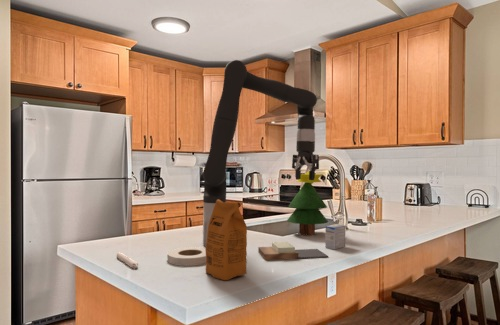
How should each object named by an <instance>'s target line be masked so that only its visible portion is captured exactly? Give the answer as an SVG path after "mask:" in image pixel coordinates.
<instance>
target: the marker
mask: <svg viewBox="0 0 500 325" xmlns="http://www.w3.org/2000/svg"><path fill="white" fill-rule="evenodd" d="M116 258H117V259H118V260H120V261H122V262H123V263H124V264H126V265H127V266H129V267H130V268H132V269H134V270H135V269H139V263H138V262H137V261H136V260H134V259H132V258H130V257H129V256H127V255H126V254H124V253H122V252H118V253H116Z"/></svg>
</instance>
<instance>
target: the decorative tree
mask: <svg viewBox="0 0 500 325" xmlns="http://www.w3.org/2000/svg"><path fill="white" fill-rule="evenodd" d="M309 171H310V170H308V171H307V172H306V173H301V179H297V180H296V182H297V183H304V184H303V185H302V186H301V187H300V189H299V191H298V192H297V193H296V195H295V196H294V198H293V199H292V200H291V202H290V203H289V204H288V208H292V209H295V210H294V211H292V213H291V214H290V215H289V217H288V218H287V220H286V222H288V223H290V224H291V223H293V224H298V225H299V232H298V234H299V235H301V236H315V235H316V233H315V232H316V231H315V230H316V225H322V224H327V223H329V221H328V219H327V218H326V217H325V215H324V214H323V213H322V211H321V210H320V209H327V208H328V206H327V205H326V203H325V202H324V200H323V199H322V197H321V196H320V194H319V193H318V191H317V190H316V189H315V187H314V186H313V184H314V183H322V181H321V180H320V178H321V177H322V176H323V175H324V174H321V173H317V174H316V173H315V178H314V180H309Z"/></svg>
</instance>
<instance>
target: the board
mask: <svg viewBox="0 0 500 325" xmlns="http://www.w3.org/2000/svg"><path fill="white" fill-rule="evenodd" d="M257 248H258V251H257V252H258V254H259V256H261V258H262V259H263V260H264V261H277V260H279V261H280V260H281V261H282V260H297V259H296V257H298V252H297V251H295V252H293V253H278V252H277V251H275V250H274V249H273V248H272V246H258V247H257Z"/></svg>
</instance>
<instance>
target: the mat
mask: <svg viewBox="0 0 500 325" xmlns="http://www.w3.org/2000/svg"><path fill="white" fill-rule="evenodd" d="M295 251H297V252H298V257H296V259H295V260H299V259H325V258H326V259H327V258H329V255H327V254H326V253H324V252H322V251H321V250H319V249H318V248H304V249H303V248H302V249H295Z"/></svg>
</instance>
